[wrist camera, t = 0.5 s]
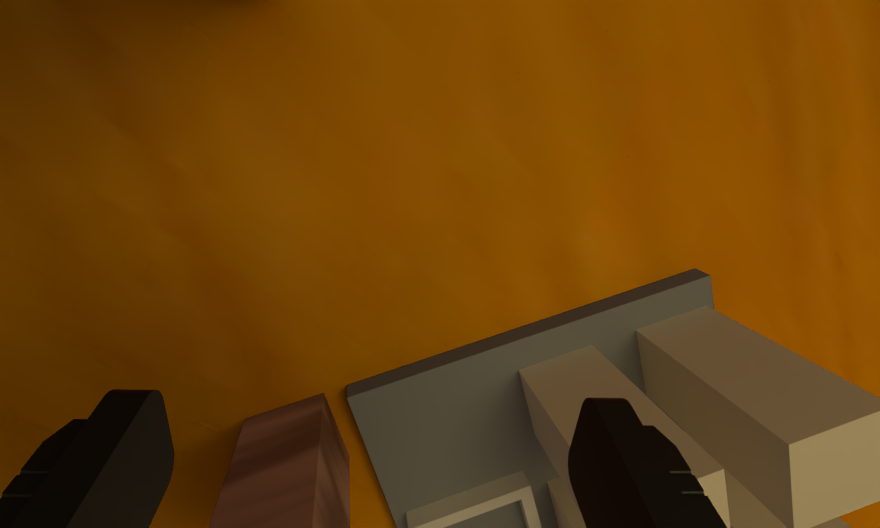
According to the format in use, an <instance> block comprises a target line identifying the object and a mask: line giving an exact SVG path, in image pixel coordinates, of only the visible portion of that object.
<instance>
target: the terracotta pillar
mask: <svg viewBox="0 0 880 528" xmlns="http://www.w3.org/2000/svg"><path fill="white" fill-rule="evenodd" d="M209 528H350V504H349V455H348V452H347V450H346V447H345V445H344V442H343V440H342V437H341V435H340V433H339V430H338V428H337V425H336V423H335V420H334V418H333V415H332V413H331V410H330V408H329V405H328V403H327V400H326V398H325V395H324V393H322V394H319V395H316V396H313V397H310V398H307V399H304V400H301V401H298V402H295V403H292V404H289V405H286V406H283V407H280V408H277V409H274V410H271V411H268V412H265V413H262V414H259V415H256V416H253V417H250V418H247V419H245V420H244V423H243V426H242V429H241V432H240V435H239V438H238V441H237V444H236V447H235V450H234V453H233V456H232V459H231V462H230V465H229V468H228V471H227V474H226V477H225V480H224V483H223V486H222V489H221V492H220V495H219V498H218V501H217V504H216V507H215V510H214V513H213V516H212V519H211V522H210V525H209Z"/></svg>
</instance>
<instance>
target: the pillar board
mask: <svg viewBox="0 0 880 528" xmlns="http://www.w3.org/2000/svg"><path fill="white" fill-rule="evenodd" d="M586 398H625V399H626V400H628V401H629V402H630V404H631V405H632V407H633V409H634V411H635V412H636V414H637V416H638V418H639V419H640V421H641V423H642V424H643V425H653V426H655V427H656V428H657V429H658V430H659V431H660V432H661V433H662V434H663V435H665V436H666V437H667V438H668V439H669V440H670V441H671V442H672V443H673V444H675V445H676V446H677V448H678V450H679V451H680V453H681V454H682V456H683V458H684V459H685V461H686V462H687V464H688V466H689V467H690V469H691V474H692V475H695V477H696V478H697V480H698V482H699V483H700V485H701V486H702V488H703V490H704V495H705V496H708V498H709V499H710V501H711V502H712V504H713V506H714V507H715V509H716V510H717V512H718V513H719V515H720V517H721V518H722V520H723V521H724V523H725V525H726V526H727V528H851V527H850V526H849V525H848V524H847V523H845V522H844V521H843V520H842V519H840V518H839V516H842V515H844V514H847V513H849V512H852V511H855V510H857V509H860V508H862V507H865V506H867V505H870V504H873V503H875V502H878V501H880V398H878V397H877V396H875V395H873V394H871V393H869V392H867V391H865V390H863V389H862V388H860V387H858V386H856V385H854V384H852V383H850V382H848V381H847V380H845V379H843V378H841V377H839V376H837V375H835V374H833V373H832V372H830V371H828V370H826V369H824V368H822V367H820V366H819V365H817V364H815V363H813V362H811V361H809V360H807V359H805V358H804V357H802V356H800V355H798V354H796V353H794V352H792V351H790V350H789V349H787V348H785V347H783V346H781V345H779V344H777V343H775V342H774V341H772V340H770V339H768V338H766V337H764V336H762V335H760V334H759V333H757V332H755V331H753V330H751V329H749V328H747V327H746V326H744V325H742V324H740V323H738V322H736V321H734V320H732V319H731V318H729V317H727V316H725V315H723V314H721V313H719V312H717V311H716V310H714V304H713V294H712V285H711V276H710V275H709V274H706V273H704V272H702V271H700V270H697V269H693V270H690V271H687V272H684V273H681V274H678V275H675V276H672V277H669V278H666V279H663V280H660V281H657V282H654V283H651V284H648V285H645V286H642V287H639V288H636V289H633V290H630V291H627V292H624V293H621V294H618V295H615V296H612V297H609V298H606V299H603V300H600V301H597V302H594V303H591V304H588V305H585V306H582V307H579V308H576V309H573V310H570V311H567V312H564V313H561V314H558V315H555V316H552V317H549V318H546V319H543V320H540V321H537V322H535V323H532V324H529V325H526V326H523V327H520V328H517V329H514V330H511V331H508V332H505V333H502V334H499V335H496V336H493V337H490V338H487V339H484V340H481V341H478V342H475V343H472V344H469V345H466V346H463V347H460V348H457V349H454V350H451V351H448V352H445V353H442V354H439V355H436V356H433V357H430V358H427V359H424V360H421V361H418V362H415V363H412V364H409V365H406V366H403V367H400V368H397V369H394V370H391V371H388V372H385V373H382V374H379V375H376V376H373V377H370V378H367V379H364V380H361V381H358V382H356V383H353V384H350V385H347V400H348V403H349V405H350V408H351V411H352V413H353V416H354V418H355V421H356V423H357V426H358V429H359V431H360V434H361V436H362V439H363V441H364V444H365V447H366V449H367V452H368V454H369V457H370V459H371V462H372V465H373V467H374V470H375V472H376V475H377V477H378V480H379V483H380V485H381V488H382V490H383V493H384V495H385V498H386V501H387V503H388V506H389V508H390V511H391V514H392V516H393V519H394V521H395V524H396V526H397V528H586V525H585V522H584V520H583V517H582V514H581V511H580V509H579V506H578V503H577V500H576V498H575V495H574V492H573V489H572V486H571V483H570V479H569V473H568V454H569V449H570V446H571V442H572V439H573V435H574V431H575V428H576V424H577V421H578V417H579V414H580V410H581V406H582V404H583V401H584V400H585V399H586Z"/></svg>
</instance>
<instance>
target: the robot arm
mask: <svg viewBox="0 0 880 528" xmlns="http://www.w3.org/2000/svg"><path fill="white" fill-rule="evenodd" d="M173 465H174V449H173V444H172V439H171V434H170V429H169V424H168V419H167V415H166V410H165V405H164V400H163V396H162V394H161V393H160V392H159V391H158V390H111V391H109V392H108V393H107V394H106V395H105V396H104V397H103V399H102V400H101V401H100V403H99V404H98V406H97V407H96V408H95V410H94V411H93V412H92V414H91V415H90V416H89V418H88V419H73V420H72V421H71V422H69V423H68V424H67V425H65V426H64V427H63V428H61V429H60V430H59V431H57V432H56V433H55V434H53V435H52V436H50V437H49V438H48V439H46V440H45V441H44V442H42V444H41V445H40V446H39V448H38V449H37V450H36V451H35V453H34V454H33V455H32V456H31V458H30V459H29V460H28V461H27V463H26V464H25V465H24V466H23V468H22V469H21V473H20V475H16V477H15V478H14V479H13V480H12V482H11V483H10V484H9V485H8V487H7V488H6V489H5V490H4V492H3V493H2V494H3V495H2V498H1V499H0V528H149V526H150V523H151V521H152V519H153V517H154V515H155V513H156V511H157V508H158V506H159V504H160V502H161V500H162V498H163V496H164V493H165V491H166V489H167V487H168V484H169V482H170V479H171V475H172V471H173ZM568 473H569V479H570V483H571V486H572V489H573V492H574V495H575V498H576V500H577V503H578V506H579V509H580V511H581V514H582V517H583V520H584V522H585V525H586V528H727V526H726V525H725V523H724V521H723V520H722V518H721V517H720V515H719V513H718V512H717V510H716V509H715V507H714V506H713V504H712V502H711V501H710V499H709V498H708V496H705V495H704V490H703V488H702V486H701V485H700V483H699V482H698V480H697V478H696V477H695V475H692V474H691V469H690V467H689V466H688V464H687V462H686V461H685V459H684V458H683V456H682V454H681V453H680V451H679V450H678V448H677V446H676V445H675V444H673V443H672V442H671V441H670V440H669V439H668V438H667V437H666V436H665V435H663V434H662V433H661V432H660V431H659V430H658V429H657V428H656V427H655V426H653V425H643V424H642V423H641V421H640V419H639V418H638V416H637V414H636V412H635V411H634V409H633V407H632V405H631V404H630V402H629V401H628V400H626V399H625V398H586V399H585V400H584V401H583V404H582V406H581V410H580V414H579V417H578V421H577V424H576V428H575V431H574V435H573V439H572V442H571V446H570V449H569V454H568Z"/></svg>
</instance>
